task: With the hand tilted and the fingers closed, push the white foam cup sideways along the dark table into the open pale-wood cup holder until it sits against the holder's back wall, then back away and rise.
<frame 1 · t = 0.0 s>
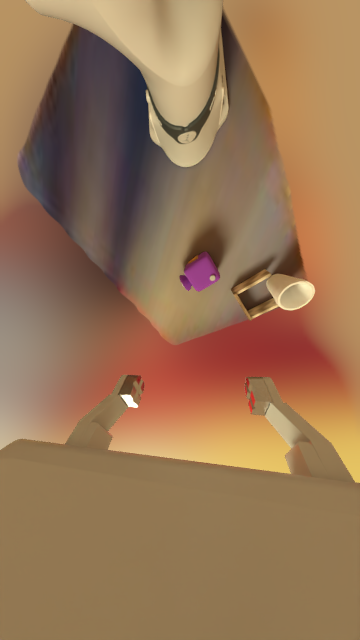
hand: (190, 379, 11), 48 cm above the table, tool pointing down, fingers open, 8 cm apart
foam cup: (275, 281, 51), on the table
cup holder: (254, 293, 55), on the table
toy camera: (198, 270, 52), on the table
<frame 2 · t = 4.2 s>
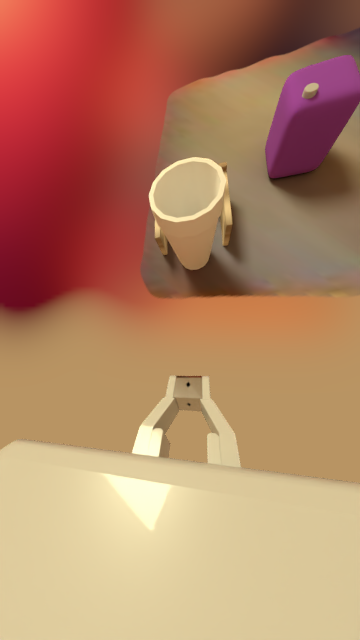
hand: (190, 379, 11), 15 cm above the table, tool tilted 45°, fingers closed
foam cup: (194, 257, 29), on the table
cup holder: (192, 224, 30), on the table
toy camera: (285, 157, 29), on the table
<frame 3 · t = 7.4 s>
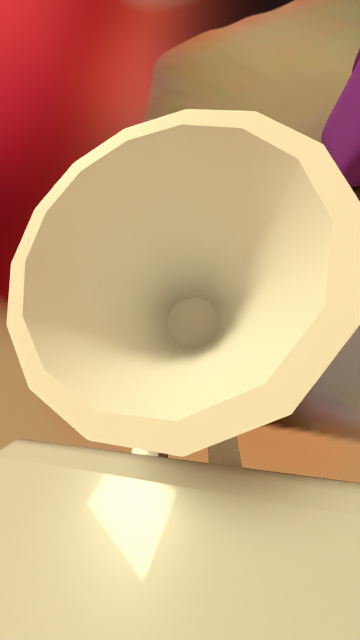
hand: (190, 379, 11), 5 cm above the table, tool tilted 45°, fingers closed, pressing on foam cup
foam cup: (193, 323, 16), on the table, touching gripper
toy camera: (359, 150, 16), on the table
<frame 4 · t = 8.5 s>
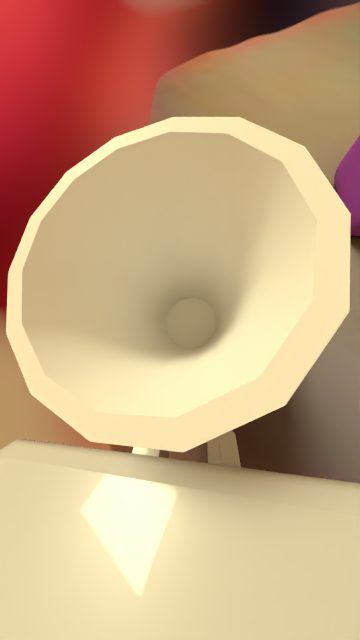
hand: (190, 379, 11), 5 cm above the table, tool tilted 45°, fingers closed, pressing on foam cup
foam cup: (191, 323, 16), on the table, touching gripper
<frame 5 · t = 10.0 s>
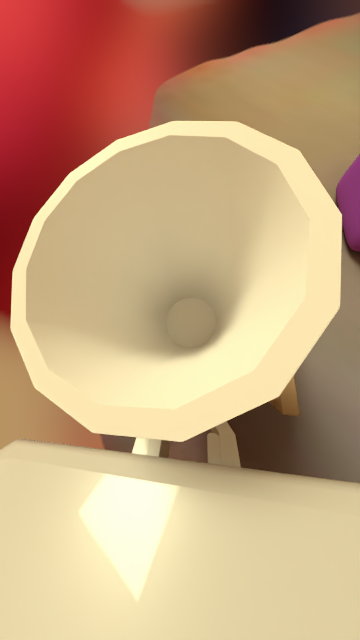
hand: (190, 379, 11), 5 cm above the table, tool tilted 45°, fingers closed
foam cup: (191, 323, 17), on the table
cup holder: (194, 329, 16), on the table
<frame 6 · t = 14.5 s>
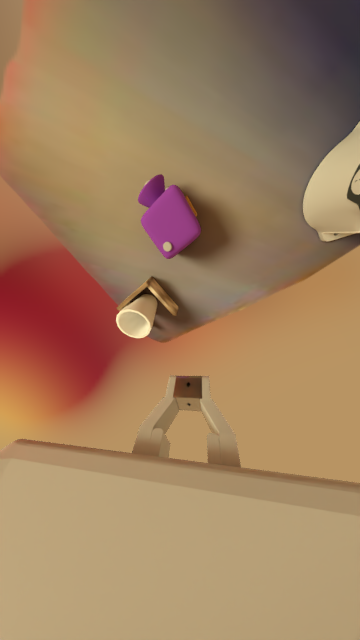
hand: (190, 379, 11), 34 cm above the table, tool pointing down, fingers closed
foam cup: (148, 302, 47), on the table
cup holder: (151, 303, 47), on the table
toy camera: (172, 220, 33), on the table
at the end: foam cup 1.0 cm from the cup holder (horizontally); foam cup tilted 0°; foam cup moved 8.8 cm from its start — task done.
